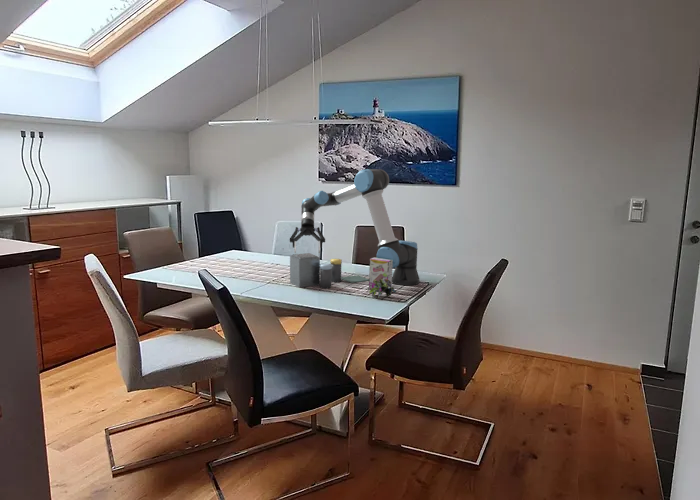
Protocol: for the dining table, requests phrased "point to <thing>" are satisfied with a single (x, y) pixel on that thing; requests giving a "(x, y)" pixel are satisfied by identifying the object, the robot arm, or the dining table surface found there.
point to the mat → (354, 279)
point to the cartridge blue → (325, 275)
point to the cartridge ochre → (336, 270)
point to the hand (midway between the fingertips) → (307, 251)
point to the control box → (304, 270)
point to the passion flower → (382, 287)
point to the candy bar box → (380, 270)
